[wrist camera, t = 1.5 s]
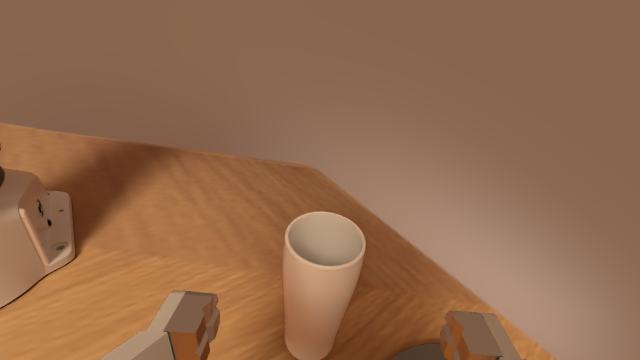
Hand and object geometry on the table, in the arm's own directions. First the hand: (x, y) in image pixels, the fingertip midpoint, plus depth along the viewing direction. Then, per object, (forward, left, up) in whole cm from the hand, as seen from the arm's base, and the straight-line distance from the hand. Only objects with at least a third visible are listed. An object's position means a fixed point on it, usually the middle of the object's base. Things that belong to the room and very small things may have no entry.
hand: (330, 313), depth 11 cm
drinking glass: (-10, +6, -23) cm, 25 cm away
